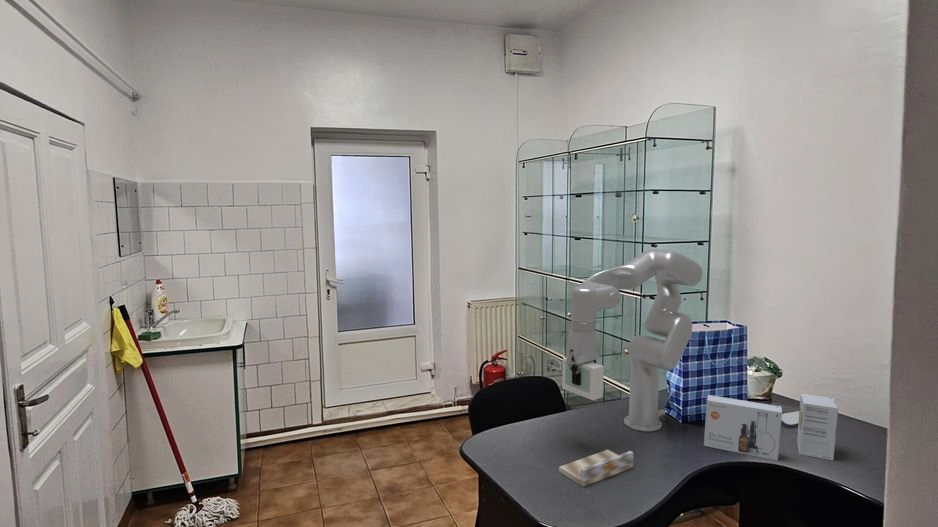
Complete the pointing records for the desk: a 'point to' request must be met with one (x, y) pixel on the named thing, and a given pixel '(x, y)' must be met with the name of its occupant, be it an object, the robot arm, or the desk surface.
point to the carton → (585, 380)
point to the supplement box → (817, 426)
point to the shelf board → (597, 467)
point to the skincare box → (743, 427)
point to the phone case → (790, 419)
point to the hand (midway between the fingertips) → (582, 382)
